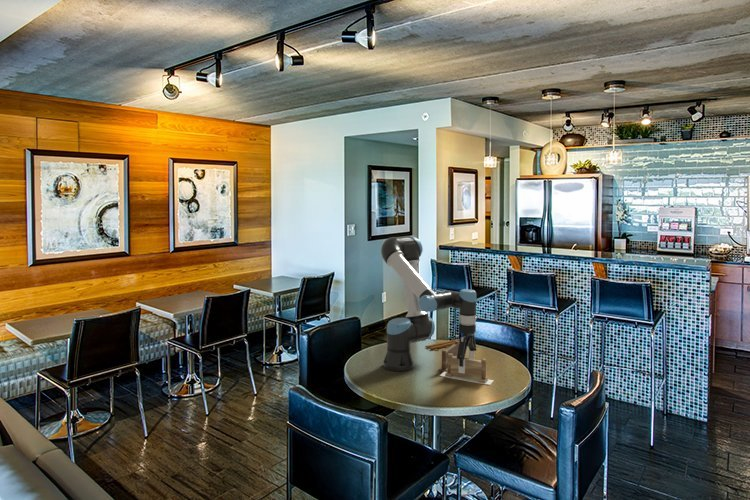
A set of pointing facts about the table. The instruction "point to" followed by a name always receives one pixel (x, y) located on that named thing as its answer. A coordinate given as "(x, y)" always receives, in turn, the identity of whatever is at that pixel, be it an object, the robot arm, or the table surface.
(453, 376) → the strip
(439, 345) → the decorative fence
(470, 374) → the oak fence segment
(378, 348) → the table surface
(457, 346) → the walnut fence panel
